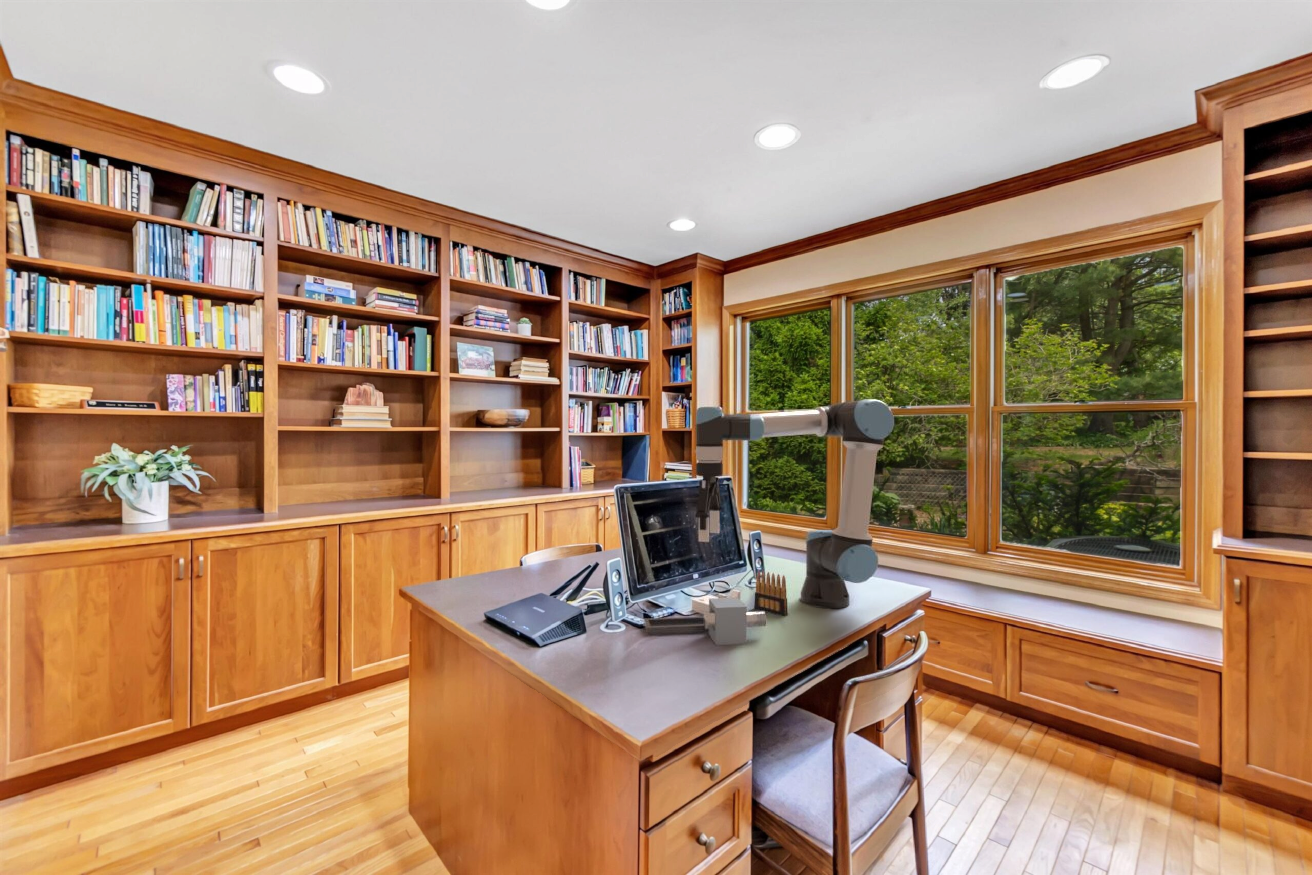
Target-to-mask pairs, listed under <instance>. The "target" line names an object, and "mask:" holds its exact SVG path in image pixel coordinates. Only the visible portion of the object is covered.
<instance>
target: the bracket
mask: <svg viewBox="0 0 1312 875" xmlns="http://www.w3.org/2000/svg"><path fill="white" fill-rule="evenodd" d="M730 591H731V592H730V596H729V597H728V595H727V594H724V593H722V592H721V593H718V594H717V597H716V596H711V595H708V594H707V595H704V596H700V597H696V598H692V600H691V610H692V611H693V610H694V611H693V612H696V613H699V614H702V615H704V613H709V599H711V598H739V599H740V600H741V590H738V589H731V590H730Z"/></svg>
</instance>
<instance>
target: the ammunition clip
mask: <svg viewBox="0 0 1312 875" xmlns="http://www.w3.org/2000/svg"><path fill="white" fill-rule="evenodd" d="M781 578H782V579H781ZM786 582H787V581H786V577H785V575H784V574H783V576H782V577H781V576H780V574H779V573H778V574H777V576H775V573H774V572H773V573H772V575H770V572H769V571H767V574H766V575H765V570H763V571H762V572H760V570H759V569H758V570H757V573H756V581H755V592H754V602H753V603H754V605H753V606H754V607H753V609H754V610H757V611H764V612H765V613H770V614H773V615H777V616H781V617H787V616H788V615H789V614H788V613H789V612H788V597H787V583H786Z"/></svg>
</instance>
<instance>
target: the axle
mask: <svg viewBox="0 0 1312 875" xmlns="http://www.w3.org/2000/svg"><path fill="white" fill-rule="evenodd" d="M702 616H703V622H704V627H705V629H708V628H715V613H704V614H703V615H702ZM766 625H767V615H766V612H765V611H761V610H757V611H756V610H754V611H747V628H752V627H753V628H755V627H766Z"/></svg>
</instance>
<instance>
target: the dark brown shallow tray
mask: <svg viewBox="0 0 1312 875" xmlns="http://www.w3.org/2000/svg"><path fill="white" fill-rule="evenodd" d="M703 616H704V615H702V616H701V615H700V616H680V617H679V616H678V617H655V618H654V617H651V618H650V617H649V618H644V622H643V623H644V628H645V631H646V632H645V633H646V635H647V636H652V635H654V636H655V635H657V636H658V635H677V634H679V635H680V634H681V635H682V634H698V633H699V634H700V633H701V634H702V633H704V634H705V633H709V628H708V629H705V627H704V622H703Z"/></svg>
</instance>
